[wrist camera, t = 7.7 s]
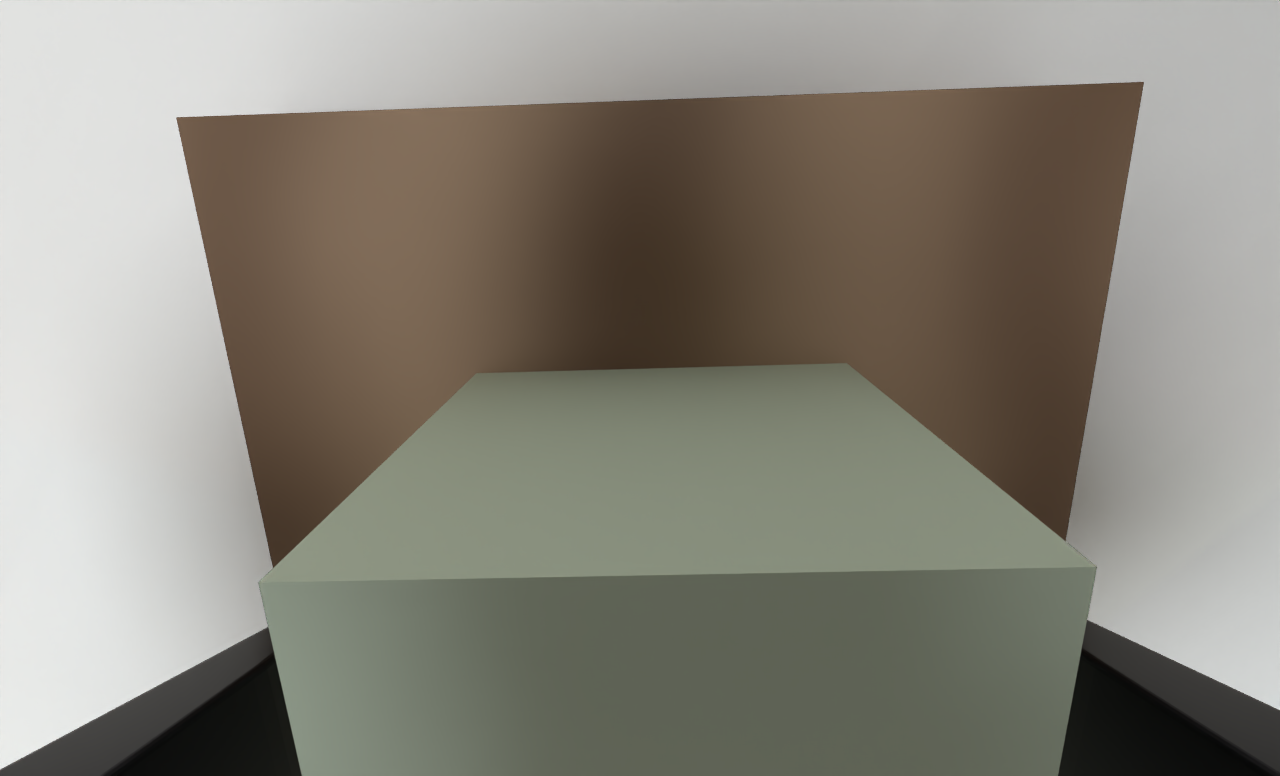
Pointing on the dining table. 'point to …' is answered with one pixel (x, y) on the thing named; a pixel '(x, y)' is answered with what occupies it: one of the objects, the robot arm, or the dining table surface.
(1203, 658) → the dining table surface
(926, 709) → the sage block
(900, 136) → the walnut plinth
